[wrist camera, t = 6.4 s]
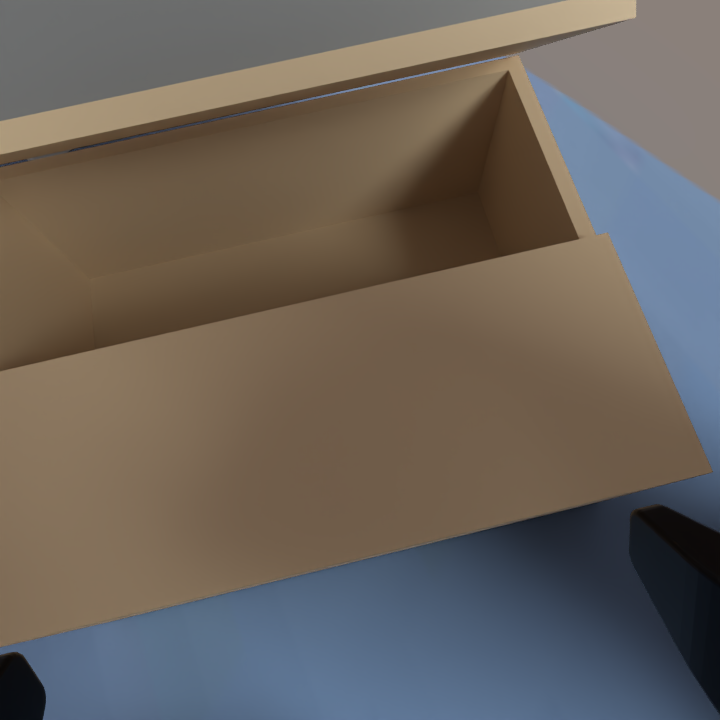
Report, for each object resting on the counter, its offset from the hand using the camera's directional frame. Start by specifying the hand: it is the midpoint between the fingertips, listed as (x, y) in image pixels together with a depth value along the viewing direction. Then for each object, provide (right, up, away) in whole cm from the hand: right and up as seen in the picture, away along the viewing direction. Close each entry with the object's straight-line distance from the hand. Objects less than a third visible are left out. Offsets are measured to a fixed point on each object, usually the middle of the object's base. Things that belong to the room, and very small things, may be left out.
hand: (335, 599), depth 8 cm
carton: (-1, +3, +14) cm, 15 cm away
